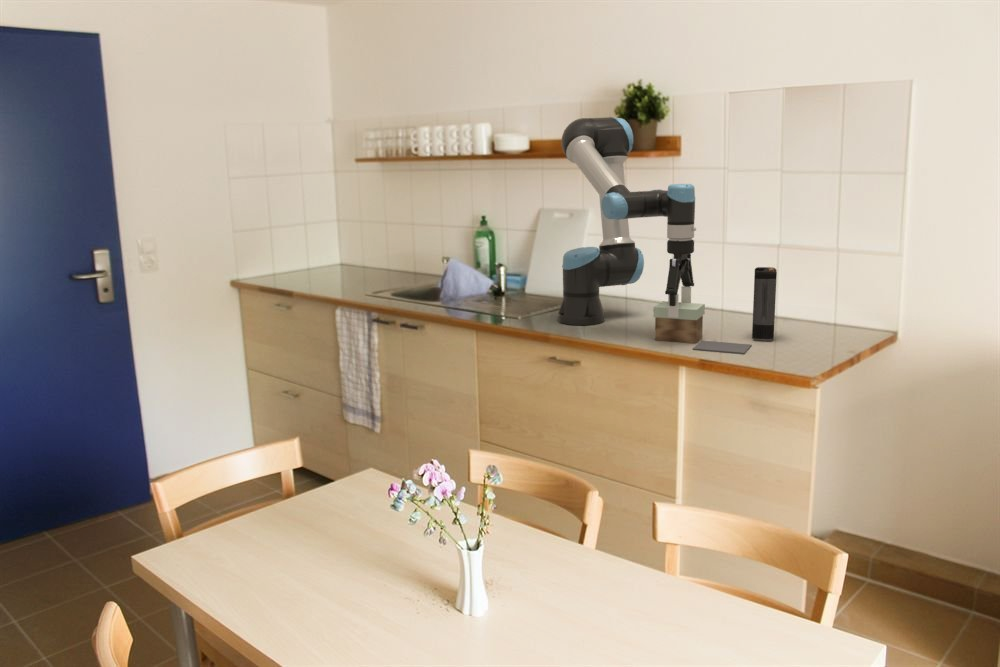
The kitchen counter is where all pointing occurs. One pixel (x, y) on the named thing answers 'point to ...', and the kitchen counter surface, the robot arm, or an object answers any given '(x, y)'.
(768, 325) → the electronic device
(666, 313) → the block
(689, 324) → the crate
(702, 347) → the mat
